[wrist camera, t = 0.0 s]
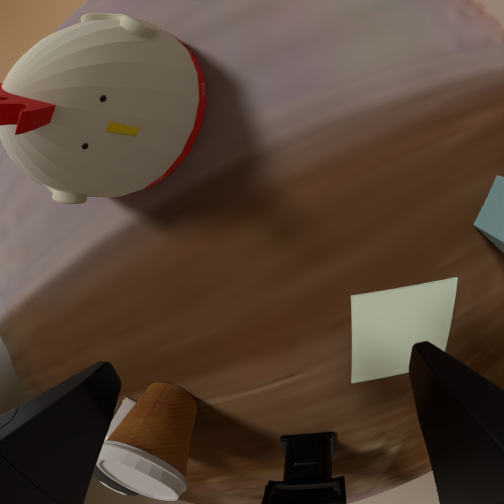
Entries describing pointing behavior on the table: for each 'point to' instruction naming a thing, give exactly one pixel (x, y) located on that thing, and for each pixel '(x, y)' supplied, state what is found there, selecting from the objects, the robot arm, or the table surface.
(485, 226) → the tea tin
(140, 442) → the disposable coffee cup
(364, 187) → the table surface
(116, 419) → the medicine bottle
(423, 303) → the plate
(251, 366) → the table surface
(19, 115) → the kitchen timer
